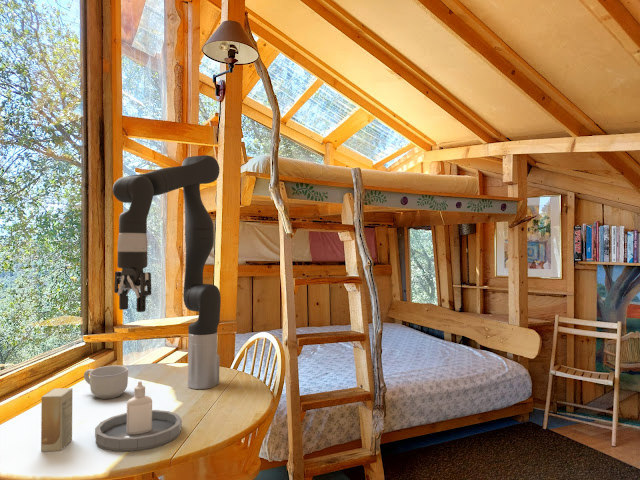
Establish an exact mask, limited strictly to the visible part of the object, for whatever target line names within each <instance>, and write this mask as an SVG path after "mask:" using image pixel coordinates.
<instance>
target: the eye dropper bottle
mask: <svg viewBox="0 0 640 480" xmlns="http://www.w3.org/2000/svg"><path fill="white" fill-rule="evenodd" d="M133 390H134V392H133V394H134V396H132V397H131V398H129V399H128V400H127V402H126V413H127V433H128V434H129V435H135V434H142V433H146V432H149V431H151V430H152V410H153V400H152V398H151V397H150V396H149V395H146V386H145V385H143V383H142V381H141V380H139V381H138V382H137V385H136V386H135V387H134V389H133Z"/></svg>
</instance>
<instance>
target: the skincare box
mask: <svg viewBox="0 0 640 480" xmlns="http://www.w3.org/2000/svg"><path fill="white" fill-rule="evenodd" d="M40 408H41V410H40V411H41V414H40V415H41V418H40V419H41V420H40V421H41V422H40V423H41V424H40V425H41V427H40V429H41V431H40V433H41V435H40V436H41V437H40V439H41V441H40V446H41V447H40V451H41V452H60V451H62V450H63V449H65V447H66V446H68V445H69V443H70V442H71V441H72V440H73V388H71V387H70V388H68V387H67V388H64V387H63V388H60V387H59V388H52V389H51V390H49V391H48V392H47V393H45V394H44V395H42V396H41V407H40Z"/></svg>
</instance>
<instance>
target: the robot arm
mask: <svg viewBox="0 0 640 480" xmlns="http://www.w3.org/2000/svg"><path fill="white" fill-rule="evenodd" d="M219 175H220V166H219V162H218V161H217V159H216V158H215V157H214V156H212V155H208V154H206V155H194V156H192V155H191V156H188V157H185V158H184V159H183V161H182V164H181V165H179V166H178V165H177V166H170V167H164V168H159V169H155V170H151V171H149V172H144V173H140V174H131V175H127V176H122V177H119V178H118V179H116V181H114V184H113V186H112V194H113V196H114V197H115V198H116V200H118V201H119V202H121V203H126V204H130V205H129V208H128V209H127V210H125V211H122V212H121V213H120V214H119V216H118V238H117V263H116V264H117V267H118V269H121V270H118V271H117V270H115V271H114V287H113V292H114V293H115V294H117V296H118V299H119V301H118V309H119V310H120V311H122V310H123V311H124V310H128V309H129V293H130V291H131V290H132V292H134V293H135V296H136V310H135V311H136V312H137V313H144V312H146V309H147V301H146V299H147V297H148V296H151V295H152V273H151V272H150V271H149V272H145V271H144V269H146V268H147V267H148V253H149V252H148V243H149V242H148V236H147V234H148V233H147V232H148V227H147V225H148V216H149V213H150V209H151V205H152V202H153V200H154V199H153V198H154V197H155V196H161V195H163V194H167V193H170V192H173V191H175V190H179V189H182V191H183V192H182V193H183V200H184V240H185V241H184V242H185V266H184V267H185V268H184V269H185V271H184V272H185V273H184V280H183V281H184V282H183V294H182V295H183V303H184V305H185V308H186V309H187V310H188V311H191V312H198V318H197V319H196V321H195V322H191V323H190V324H189V325H188V330H187V331H188V334H187V335H188V336H187V337H188V341H187V343H188V348H187V351H188V353H187V354H188V355H187V356H188V357H187V358H188V359H187V360H188V361H187V362H188V363H187V387H188V388H189V389H194V390H205V389H211V388H213V387H214V388H215V387H216V386H217V385H219V384H220V359H221V358H220V354H218V327H219V324H220V321H221V320H220V319H221V307H222V306H221V302H222V301H221V298H222V297H221V292H220V289H219V287H218V286H217V285H215V284H212V283H211V284H210V283H204V268H205V265H206V262H207V260H208V258H209V257H210V255H211V252H212V250H213V248H214V244H215V234H214V233H215V232H214V231H215V228H214V227H215V226H214V223H213V219H212V217H211V215H210V214H209V212H208V210H207V209H206V207H205V205H204V202H203V201H202V200H203V199H202V198H201V197H202V196H201V189H200V188H201V185H207V184H211V183H214V182H215V181H216V180H217V179H218V178H219Z"/></svg>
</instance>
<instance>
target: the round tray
mask: <svg viewBox="0 0 640 480" xmlns="http://www.w3.org/2000/svg"><path fill="white" fill-rule="evenodd" d="M182 424H183V423H182V417H180V415H179V414H177V413H174V412H171V411H169V410H160V409H152V430H151V431H149V432H146V433H142V434H135V435H129V434H128V433H127V412H124V413H121V414H117V415H114V416H110V417H109V418H107V419H105V420H102V421H100V422H99V424H98V425H96V427H95V429H94V438H95V445H96V447H98V448H100V449H102V450H105V451H106V452H107V451H109V452H115V453H116V452H117V453H131V452H132V453H133V452H141V451H147V450H152V449H155V448H158V447H162V446H164V445H167V444H169V443H171V442H173V441H175V440H176V439H177V438H178V437H180V435H181V429H182Z"/></svg>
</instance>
